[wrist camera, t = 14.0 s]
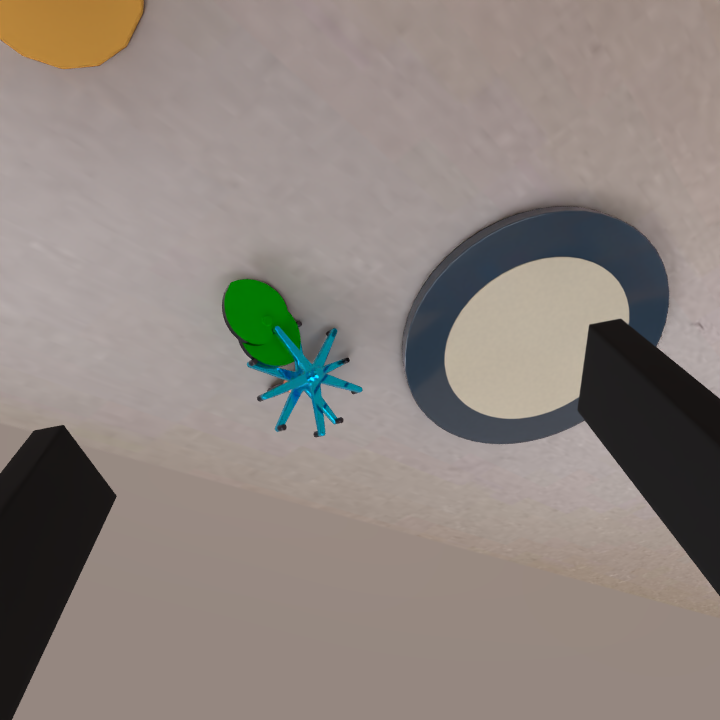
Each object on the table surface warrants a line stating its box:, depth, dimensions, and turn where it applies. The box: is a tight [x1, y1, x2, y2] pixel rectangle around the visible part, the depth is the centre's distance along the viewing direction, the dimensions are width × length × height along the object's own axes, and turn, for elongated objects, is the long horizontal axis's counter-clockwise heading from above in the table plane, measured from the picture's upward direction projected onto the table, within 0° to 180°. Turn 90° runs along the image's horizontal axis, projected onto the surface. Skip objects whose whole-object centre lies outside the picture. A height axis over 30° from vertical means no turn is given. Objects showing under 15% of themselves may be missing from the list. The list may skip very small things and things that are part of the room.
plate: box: [402, 206, 669, 444], centre depth 33 cm, size 20×20×1 cm
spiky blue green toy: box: [222, 279, 362, 437], centre depth 31 cm, size 12×7×8 cm
